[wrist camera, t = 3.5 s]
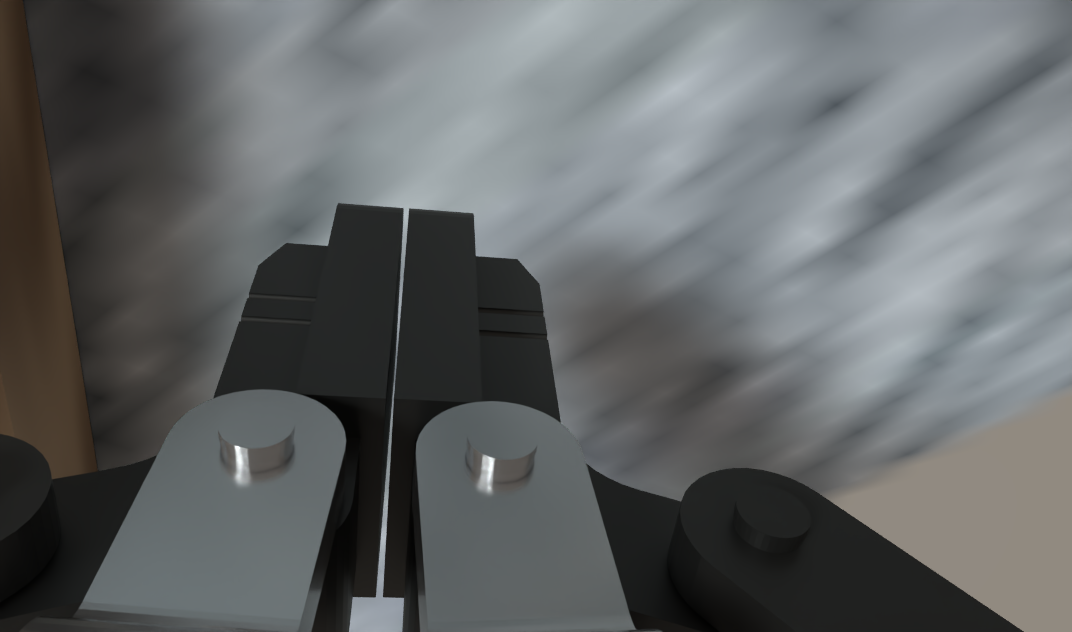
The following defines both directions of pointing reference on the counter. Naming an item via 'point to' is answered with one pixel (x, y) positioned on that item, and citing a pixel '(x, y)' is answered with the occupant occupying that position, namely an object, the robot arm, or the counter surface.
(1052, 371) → the counter surface
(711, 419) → the counter surface
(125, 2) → the counter surface
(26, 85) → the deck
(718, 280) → the counter surface
